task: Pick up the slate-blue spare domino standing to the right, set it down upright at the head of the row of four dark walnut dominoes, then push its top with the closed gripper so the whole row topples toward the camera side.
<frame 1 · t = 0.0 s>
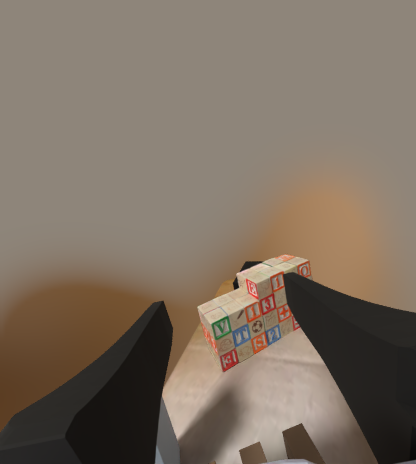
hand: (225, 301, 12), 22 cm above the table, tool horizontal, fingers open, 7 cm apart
stack of blocks: (264, 334, 38), on the table
figurine character: (254, 299, 50), on the table
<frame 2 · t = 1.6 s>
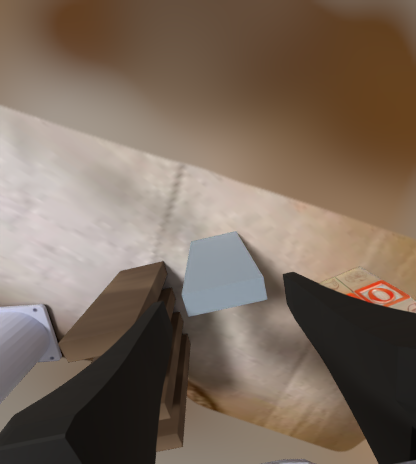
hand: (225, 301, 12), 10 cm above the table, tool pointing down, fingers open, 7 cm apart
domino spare: (215, 243, 22), on the table
stack of blocks: (354, 339, 26), on the table
domino 3: (153, 297, 23), on the table
domino 4: (144, 272, 22), on the table
domino 1: (169, 342, 25), on the table
domino 2: (161, 321, 24), on the table
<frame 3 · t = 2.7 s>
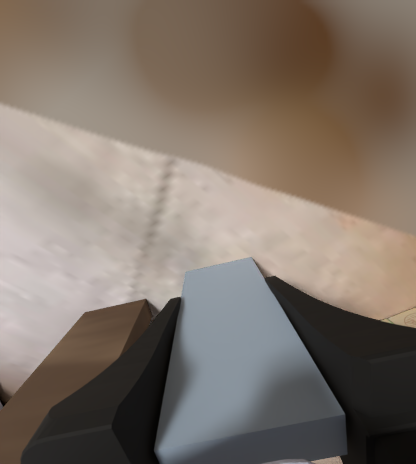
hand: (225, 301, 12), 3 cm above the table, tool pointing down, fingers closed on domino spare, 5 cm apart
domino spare: (220, 274, 15), on the table, touching gripper
stack of blocks: (404, 396, 19), on the table
domino 4: (118, 314, 16), on the table
when the fingers open (4 cm above the table, at t = 6.4 s): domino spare stays where it is, on the table.
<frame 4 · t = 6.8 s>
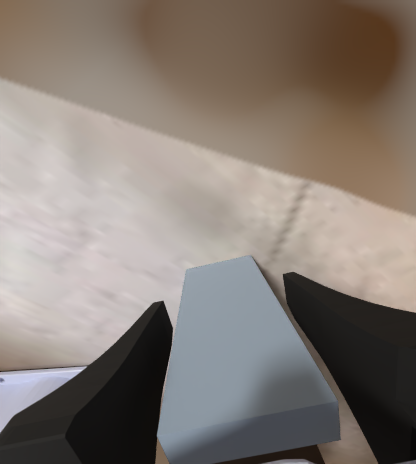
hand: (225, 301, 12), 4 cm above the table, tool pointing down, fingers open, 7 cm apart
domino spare: (220, 271, 15), on the table
domino 4: (232, 324, 17), on the table
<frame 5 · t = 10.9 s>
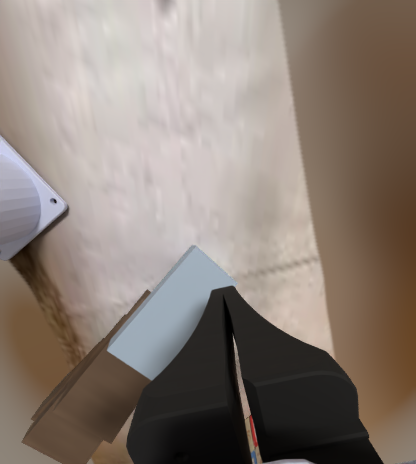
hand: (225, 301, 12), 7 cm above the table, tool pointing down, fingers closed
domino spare: (214, 263, 18), point 1 cm above the table, tilted 67°, touching domino 4
stack of blocks: (236, 455, 27), on the table
domino 3: (145, 331, 19), point 1 cm above the table, tilted 57°, touching domino 2, domino 4
domino 4: (168, 306, 19), point 1 cm above the table, tilted 57°, touching domino 3, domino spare
domino 2: (121, 358, 19), point 2 cm above the table, tilted 85°, touching domino 1, domino 3
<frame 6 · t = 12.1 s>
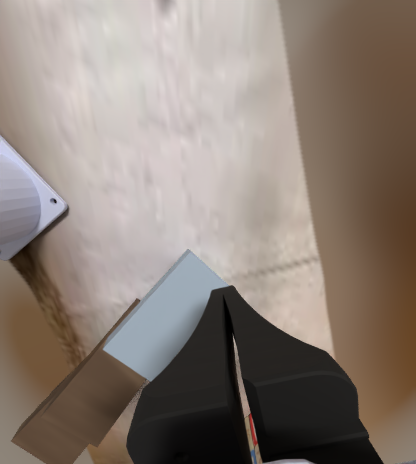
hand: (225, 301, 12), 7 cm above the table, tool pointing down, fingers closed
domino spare: (209, 268, 18), point 1 cm above the table, tilted 71°, touching domino 4
stack of blocks: (235, 454, 27), on the table
domino 3: (137, 342, 20), point 1 cm above the table, tilted 60°, touching domino 2, domino 4
domino 4: (157, 315, 19), point 1 cm above the table, tilted 60°, touching domino 3, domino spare
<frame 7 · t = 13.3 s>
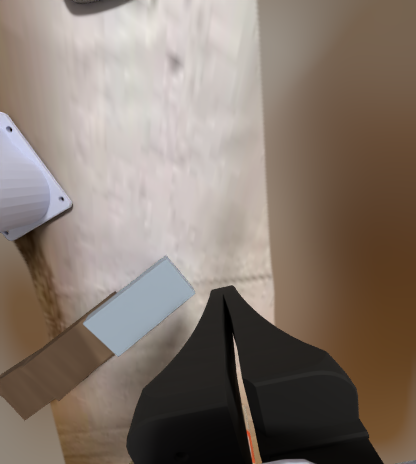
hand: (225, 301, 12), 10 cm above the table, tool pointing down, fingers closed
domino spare: (180, 273, 22), point 1 cm above the table, tilted 74°, touching domino 4
domino 3: (107, 332, 23), point 1 cm above the table, tilted 65°, touching domino 2, domino 4
domino 4: (128, 309, 23), point 1 cm above the table, tilted 65°, touching domino 3, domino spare
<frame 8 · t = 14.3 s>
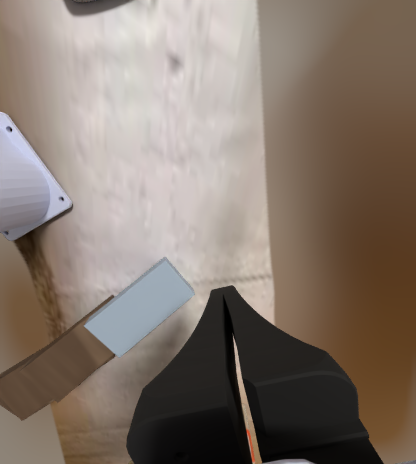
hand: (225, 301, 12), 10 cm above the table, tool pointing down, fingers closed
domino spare: (180, 275, 22), point 1 cm above the table, tilted 75°, touching domino 4
domino 3: (104, 336, 24), point 1 cm above the table, tilted 68°, touching domino 4
domino 4: (126, 312, 23), point 1 cm above the table, tilted 67°, touching domino 3, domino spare
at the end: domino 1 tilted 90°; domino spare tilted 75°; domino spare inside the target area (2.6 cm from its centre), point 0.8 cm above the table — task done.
